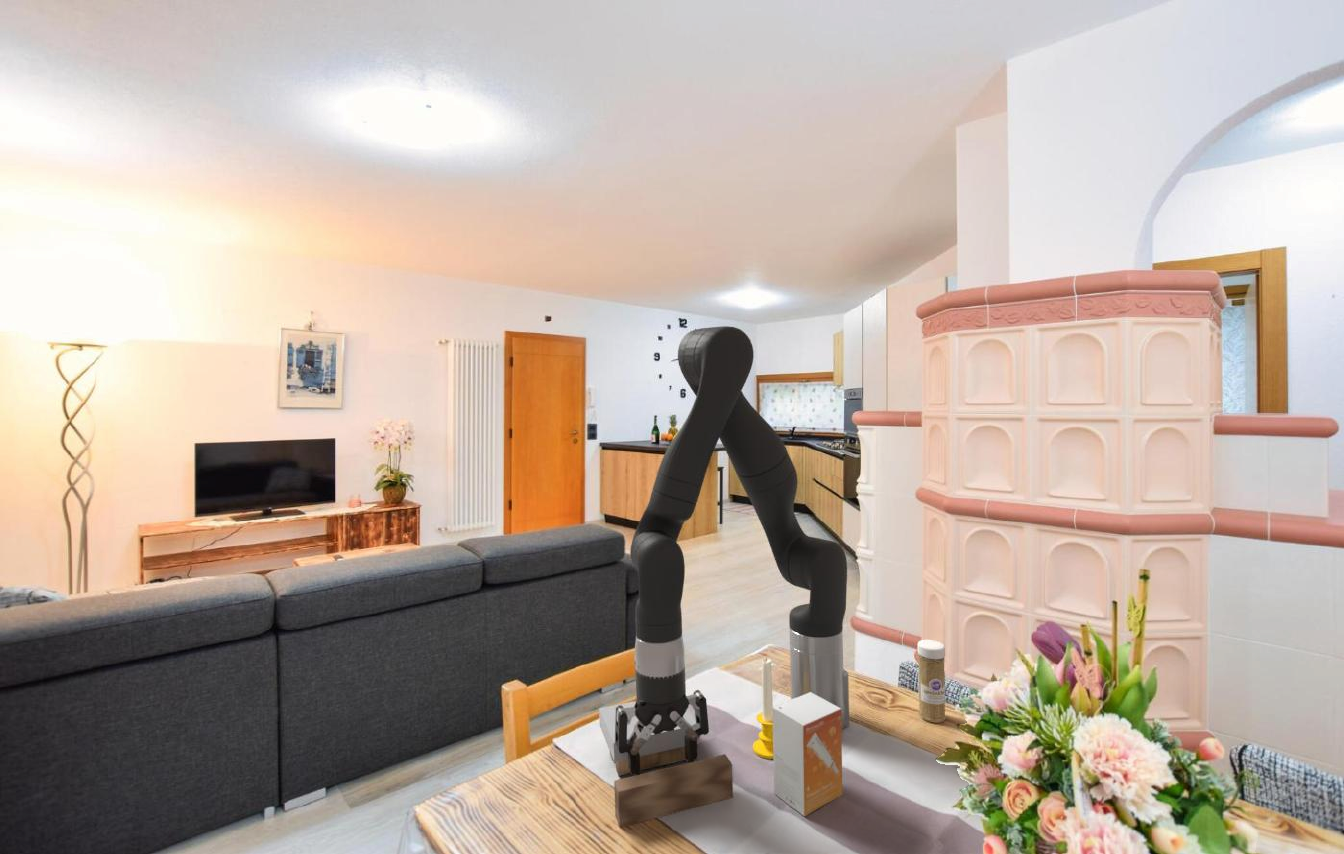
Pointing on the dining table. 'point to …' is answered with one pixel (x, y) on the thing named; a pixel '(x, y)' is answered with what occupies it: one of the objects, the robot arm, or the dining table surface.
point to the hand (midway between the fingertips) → (663, 768)
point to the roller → (653, 760)
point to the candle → (766, 714)
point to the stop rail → (672, 789)
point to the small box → (807, 752)
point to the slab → (655, 742)
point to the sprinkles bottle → (931, 680)
